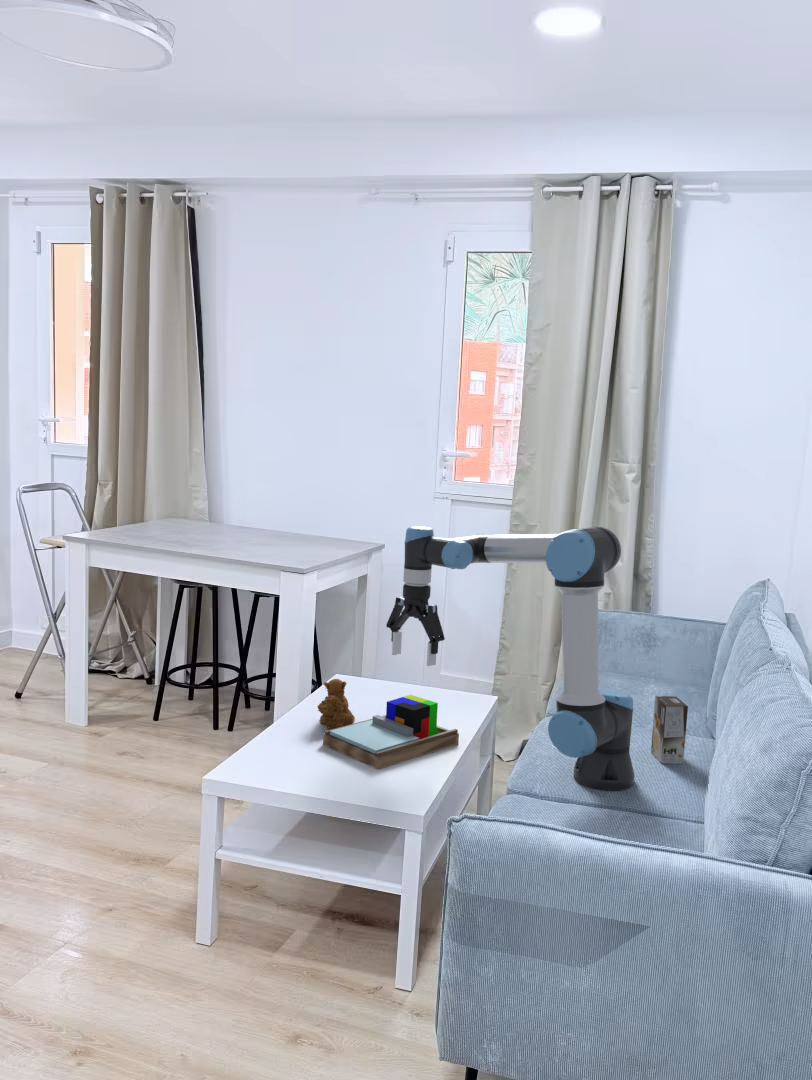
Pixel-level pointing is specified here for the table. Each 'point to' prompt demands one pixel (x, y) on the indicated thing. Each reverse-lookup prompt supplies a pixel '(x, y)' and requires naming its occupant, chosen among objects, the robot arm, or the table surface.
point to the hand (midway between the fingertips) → (413, 659)
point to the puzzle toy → (414, 714)
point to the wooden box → (394, 754)
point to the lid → (376, 734)
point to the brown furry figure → (335, 706)
